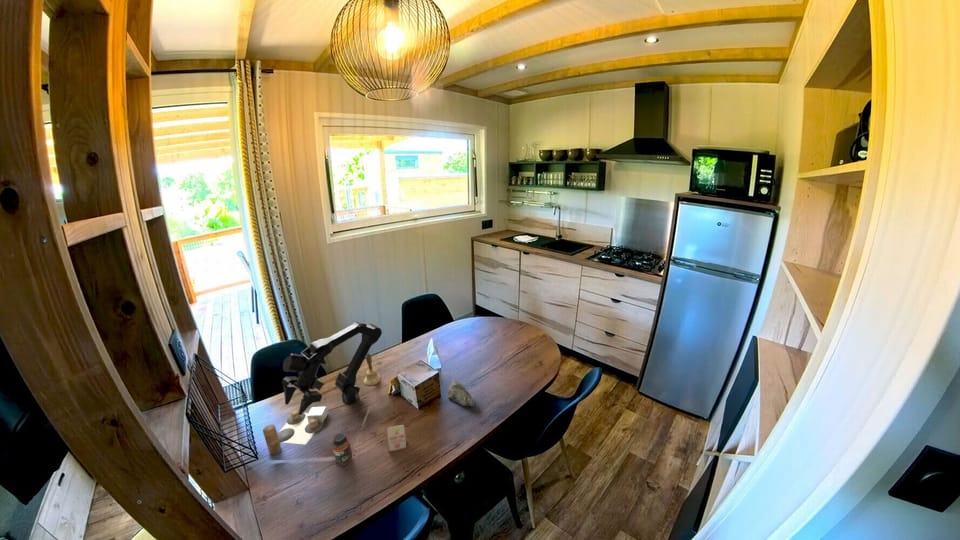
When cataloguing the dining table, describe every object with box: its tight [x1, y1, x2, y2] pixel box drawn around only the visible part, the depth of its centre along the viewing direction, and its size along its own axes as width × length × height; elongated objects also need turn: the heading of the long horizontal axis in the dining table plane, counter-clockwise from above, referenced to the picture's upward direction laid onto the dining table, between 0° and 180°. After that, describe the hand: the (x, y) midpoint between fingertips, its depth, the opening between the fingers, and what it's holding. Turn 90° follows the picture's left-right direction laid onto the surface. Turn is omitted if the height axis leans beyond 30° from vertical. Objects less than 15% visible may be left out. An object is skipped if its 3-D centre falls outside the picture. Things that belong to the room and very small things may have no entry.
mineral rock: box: [447, 379, 475, 407], centre depth 152 cm, size 13×11×10 cm
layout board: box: [277, 409, 328, 446], centre depth 138 cm, size 18×16×4 cm
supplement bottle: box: [331, 432, 353, 467], centre depth 123 cm, size 6×6×11 cm
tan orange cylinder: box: [262, 424, 282, 456], centre depth 126 cm, size 4×4×12 cm
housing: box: [307, 406, 328, 423], centre depth 143 cm, size 6×5×4 cm
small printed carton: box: [385, 424, 407, 453], centre depth 129 cm, size 4×7×10 cm, turn 105°
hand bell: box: [363, 352, 381, 386], centre depth 167 cm, size 8×8×16 cm
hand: (293, 409), depth 134 cm, fingers open, 9 cm apart
